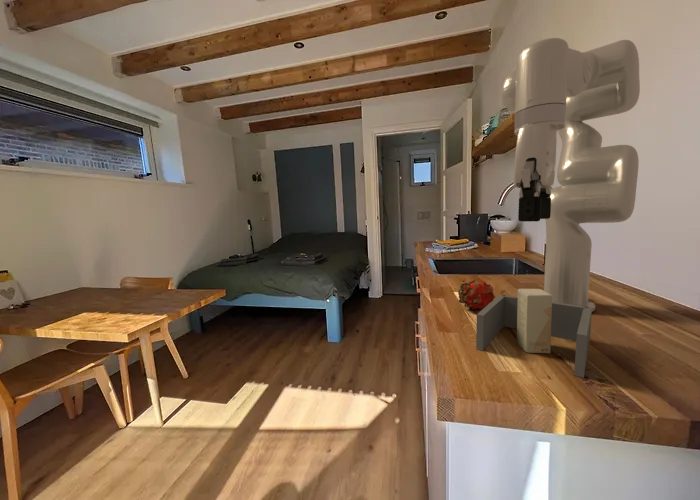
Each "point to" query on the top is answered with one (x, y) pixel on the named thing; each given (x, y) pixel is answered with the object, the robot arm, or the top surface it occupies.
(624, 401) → the top surface
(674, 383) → the top surface
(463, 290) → the dragon fruit
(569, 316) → the u-shaped wall
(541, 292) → the box
